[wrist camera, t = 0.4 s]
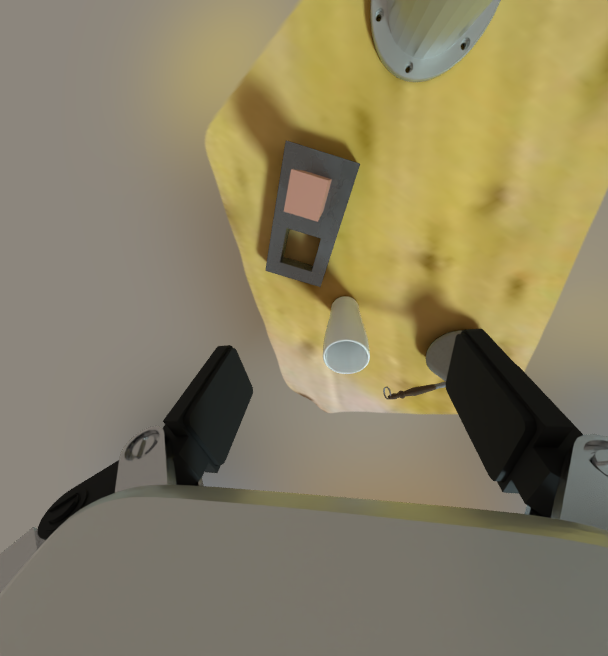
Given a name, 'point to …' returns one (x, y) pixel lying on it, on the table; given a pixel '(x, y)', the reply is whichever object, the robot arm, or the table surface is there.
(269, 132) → the table surface
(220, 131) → the table surface
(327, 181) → the square peg
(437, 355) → the coffee pot
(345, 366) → the drinking glass
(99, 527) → the robot arm
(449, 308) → the table surface
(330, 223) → the square hole plate
